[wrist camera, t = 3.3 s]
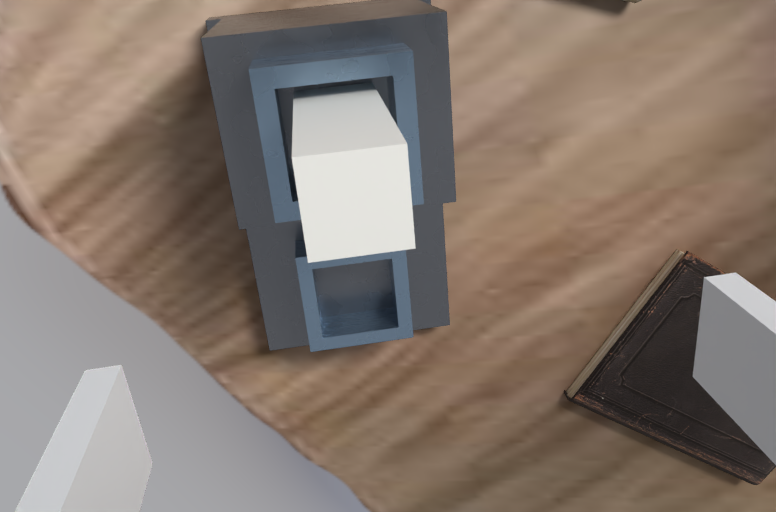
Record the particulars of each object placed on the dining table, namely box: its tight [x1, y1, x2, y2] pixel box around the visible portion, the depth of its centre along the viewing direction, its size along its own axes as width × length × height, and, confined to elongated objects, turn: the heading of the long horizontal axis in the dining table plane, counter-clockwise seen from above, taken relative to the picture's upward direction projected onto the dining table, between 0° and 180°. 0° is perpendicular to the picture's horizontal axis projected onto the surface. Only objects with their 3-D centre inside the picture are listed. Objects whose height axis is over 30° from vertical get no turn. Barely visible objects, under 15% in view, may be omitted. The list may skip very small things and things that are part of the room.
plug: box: [292, 82, 416, 263], centre depth 30 cm, size 5×4×12 cm
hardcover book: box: [564, 249, 776, 485], centre depth 60 cm, size 16×23×2 cm
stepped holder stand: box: [201, 0, 456, 352], centre depth 42 cm, size 24×14×15 cm, turn 5°
